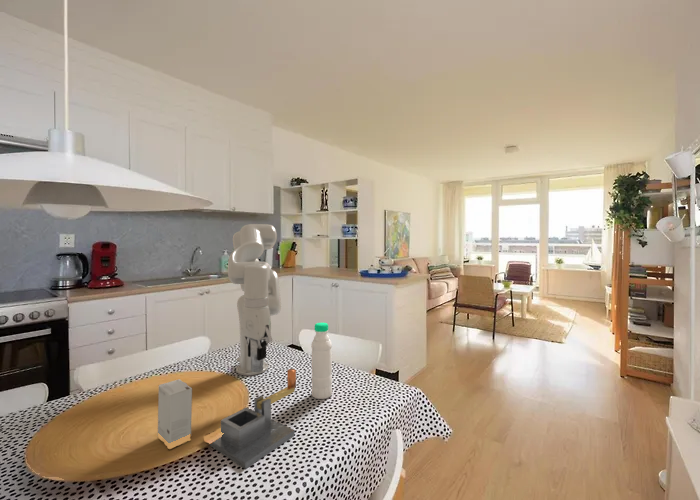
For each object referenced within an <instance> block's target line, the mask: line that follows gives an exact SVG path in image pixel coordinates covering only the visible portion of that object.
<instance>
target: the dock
mask: <svg viewBox="0 0 700 500" xmlns="http://www.w3.org/2000/svg"><path fill="white" fill-rule="evenodd" d="M263 399H264V395H258V396H257V397H255V398H254V401H253V403H254V408H253V409H254V410H253V409H251V408H248V407H247V406H246V407H244V408H243V409H240V410H238V411H236V412H234V413H232V414H231V415H228V416H227V417H225V418H222V419H221V420H220V427H221V432H222V433H224V434H223V435H222V437H221V438H219V439H218V440H216V441H215V442H213V443H212V444H210V445H209V447H211V448H213V450H216V451H218V453H220V454H222V455H223V456H225V457H226V458H228V459H229V460H231V461H232V462H234V463H235V464H237V465H239V467H241V468H243V469H244V470H246V469H248V468H249V467H251V466H252V465H254V464H255V463H257V462H258V461H259V460H261V459H262V458H264V457H265V456H267V455H268V454H270V453H271V452H272V451H274V450H276V449H277V448H279V447H280V446H281V445H283V444H284V443H286V442H287V441H289V440H290V439H291V438H293V437H294V436H295V429H293V428H291V427H289V426H287V425H285V424H282V422H279V421H277V420H274V419H272V404H271V399H267V400H265V401H263V402H262V409H261V410H260V409H258V408H257V402H259V401H261V400H263Z"/></svg>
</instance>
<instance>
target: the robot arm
mask: <svg viewBox="0 0 700 500" xmlns="http://www.w3.org/2000/svg"><path fill="white" fill-rule="evenodd" d="M277 238H278V233H277V230H276V228H275V227H274V225H272V224H267V223H262V224H261V223H260V224H259V223H249V224H245V225H243V226H242V227H241V228H240V230H239V231H237V232H235V233H234V234H233V237H232V245H233V246H232V247H233V251H232V252H231V253H230V255H229V258H228V260H227V261H228V263H227V276H228V280H229V282H230V283H232V284H234V285H240V289H241V290H242V292H243V293H244V295H241V296H240V297H238V299H237V300H236V301H237V302H236V308H237V313H238V321H239V352H240V353H239V357H237V358H236V361H237V362H238V363H239V365H237V367H236V373H237V374H238V375H240V376H255V375H256V376H257V375H260V374H263V373H265V372H266V371H268V369H269V364H268V363H267V362H265V359H266V358H267V347H268V345H269V344H270V343H271V342H273V337H272V320H271V316H276V315H279V314H280V312H281V309H282V301H281V292H280V291H281V290H280V280H279V276H278V273H277V272H276V271H275V269H274V270H273V269H272V266H271V265H270V263H268V262H266V261H260V260H259V258H260V257H261V256H262V255H263V254H264V251H265V250H266V251H267V250H271V249H273V248H274V246H275V244H276V243H277ZM249 338H252V339H255V340H258V347H259V348H257V360H262V359H263V370H262V371H261V372H252V371H251V345H250V339H249ZM261 340H263V342H261Z"/></svg>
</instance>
